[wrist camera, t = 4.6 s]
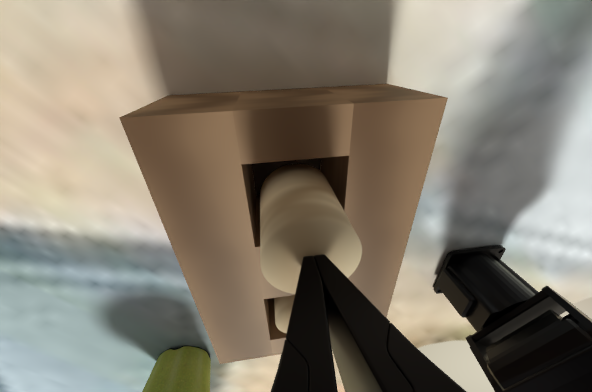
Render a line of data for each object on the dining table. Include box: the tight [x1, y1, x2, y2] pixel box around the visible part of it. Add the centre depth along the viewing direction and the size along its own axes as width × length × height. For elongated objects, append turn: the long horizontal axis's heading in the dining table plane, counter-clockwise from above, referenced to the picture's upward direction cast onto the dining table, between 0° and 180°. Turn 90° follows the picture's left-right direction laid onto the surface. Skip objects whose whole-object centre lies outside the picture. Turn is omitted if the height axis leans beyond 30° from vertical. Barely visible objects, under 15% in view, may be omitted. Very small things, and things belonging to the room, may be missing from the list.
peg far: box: [274, 295, 295, 333], centre depth 20 cm, size 4×4×5 cm
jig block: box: [120, 84, 448, 364], centre depth 18 cm, size 14×20×6 cm
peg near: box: [260, 163, 362, 294], centre depth 11 cm, size 4×4×5 cm
